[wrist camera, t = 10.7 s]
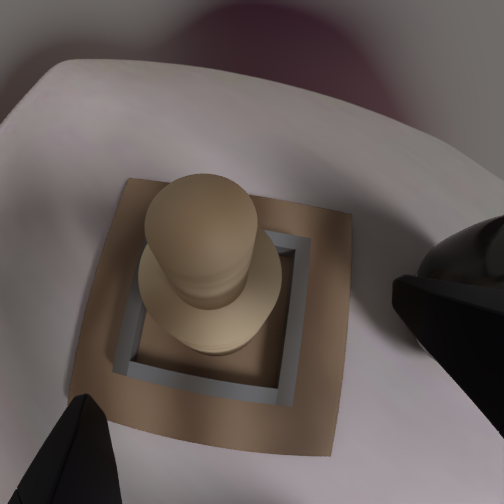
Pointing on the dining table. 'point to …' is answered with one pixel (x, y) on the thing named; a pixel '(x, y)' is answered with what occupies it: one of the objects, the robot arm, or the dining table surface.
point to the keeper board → (229, 366)
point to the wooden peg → (208, 265)
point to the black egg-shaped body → (469, 257)
